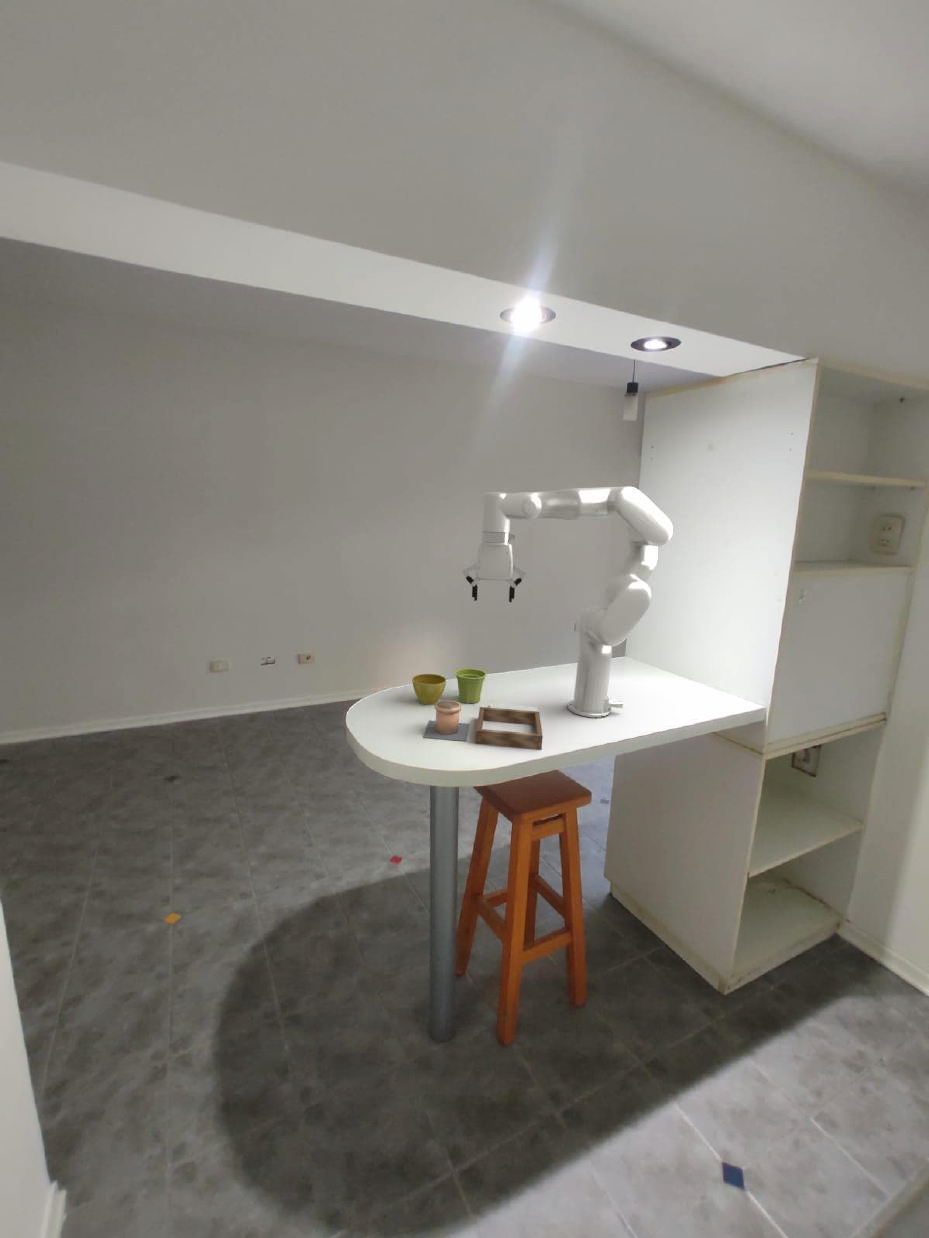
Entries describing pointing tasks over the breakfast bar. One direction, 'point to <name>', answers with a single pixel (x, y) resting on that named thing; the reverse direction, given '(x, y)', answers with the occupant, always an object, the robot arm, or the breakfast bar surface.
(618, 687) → the breakfast bar surface
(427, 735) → the slate mat
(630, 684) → the breakfast bar surface
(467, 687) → the plant pot
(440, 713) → the terracotta pot
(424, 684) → the flower pot
